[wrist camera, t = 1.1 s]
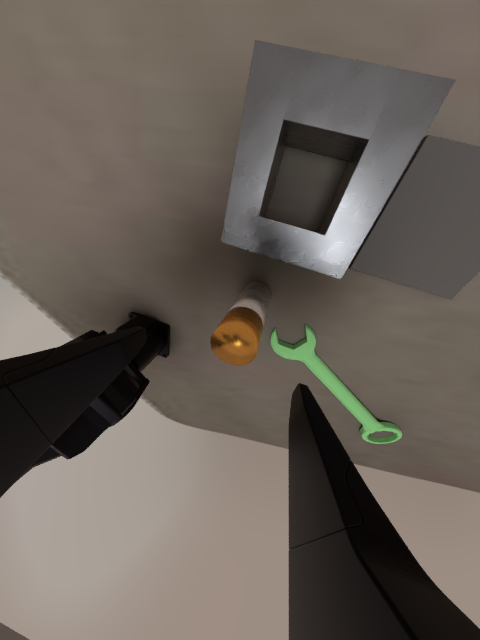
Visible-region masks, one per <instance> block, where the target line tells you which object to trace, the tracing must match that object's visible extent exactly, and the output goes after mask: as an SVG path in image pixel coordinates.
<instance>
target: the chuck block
mask: <svg viewBox="0 0 480 640" xmlns="http://www.w3.org/2000/svg"><path fill="white" fill-rule="evenodd" d="M455 81H456V80H453V79H448V78H443V77H438V76H433V75H428V74H423V73H418V72H413V71H408V70H403V69H398V68H393V67H388V66H383V65H378V64H373V63H368V62H363V61H358V60H353V59H348V58H343V57H338V56H333V55H328V54H323V53H317V52H312V51H307V50H302V49H297V48H292V47H287V46H282V45H277V44H272V43H267V42H262V41H257V40H255V44H254V50H253V56H252V62H251V67H250V73H249V79H248V85H247V91H246V97H245V103H244V109H243V115H242V120H241V126H240V132H239V138H238V144H237V150H236V156H235V162H234V168H233V173H232V179H231V185H230V191H229V197H228V203H227V209H226V215H225V221H224V226H223V232H222V238H221V242H222V243H226V244H229V245H232V246H235V247H238V248H242V249H245V250H248V251H251V252H255V253H258V254H261V255H264V256H267V257H271V258H274V259H277V260H280V261H284V262H287V263H290V264H293V265H296V266H300V267H303V268H306V269H309V270H313V271H316V272H319V273H322V274H325V275H329V276H332V277H335V278H338V279H341V278H342V277H343V275H344V273H345V271H346V270H347V268H348V266H349V265H350V263H351V261H352V259H353V258H354V256H355V254H356V252H357V251H358V249H359V247H360V245H361V244H362V242H363V240H364V239H365V237H366V235H367V233H368V232H369V230H370V228H371V226H372V225H373V223H374V221H375V219H376V218H377V216H378V214H379V213H380V211H381V209H382V207H383V206H384V204H385V202H386V200H387V199H388V197H389V195H390V193H391V192H392V190H393V188H394V186H395V185H396V183H397V181H398V180H399V178H400V176H401V174H402V173H403V171H404V169H405V167H406V166H407V164H408V162H409V160H410V159H411V157H412V155H413V154H414V152H415V150H416V148H417V147H418V145H419V143H420V141H421V140H422V138H423V136H424V134H425V133H426V131H427V129H428V128H429V126H430V124H431V122H432V121H433V119H434V117H435V115H436V114H437V112H438V110H439V108H440V107H441V105H442V103H443V102H444V100H445V98H446V96H447V95H448V93H449V91H450V89H451V88H452V86H453V84H454V82H455ZM285 146H289V147H293V148H297V149H301V150H305V151H309V152H313V153H317V154H321V155H325V156H329V157H333V158H337V159H341V160H345V161H349V162H348V164H347V166H346V169H345V171H344V173H343V176H342V178H341V180H340V182H339V185H338V187H337V189H336V192H335V194H334V196H333V199H332V201H331V203H330V205H329V208H328V210H327V212H326V215H325V217H324V219H323V221H322V224H321V226H320V228H319V231H318V233H316V232H313V231H309V230H306V229H302V228H299V227H296V226H292V225H289V224H285V223H282V222H278V221H275V220H271V219H268V218H265V216H266V212H267V209H268V205H269V201H270V198H271V194H272V191H273V187H274V183H275V180H276V176H277V173H278V169H279V165H280V162H281V158H282V155H283V151H284V147H285Z"/></svg>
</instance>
